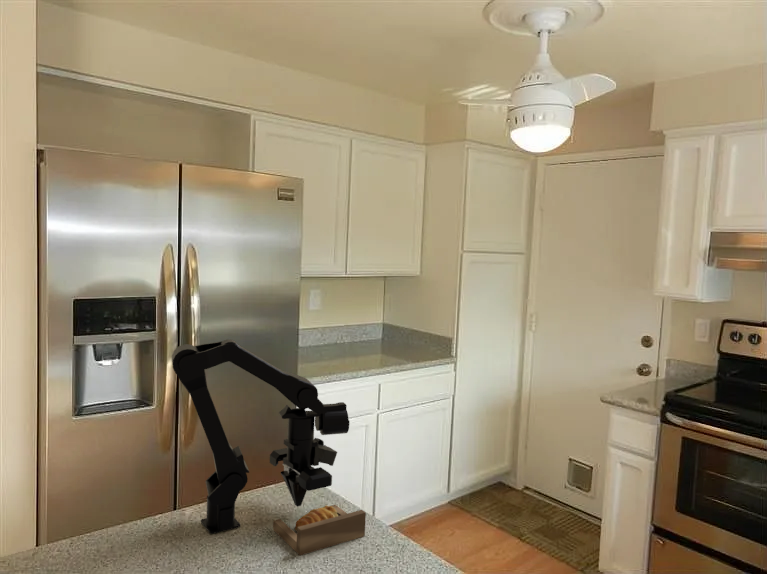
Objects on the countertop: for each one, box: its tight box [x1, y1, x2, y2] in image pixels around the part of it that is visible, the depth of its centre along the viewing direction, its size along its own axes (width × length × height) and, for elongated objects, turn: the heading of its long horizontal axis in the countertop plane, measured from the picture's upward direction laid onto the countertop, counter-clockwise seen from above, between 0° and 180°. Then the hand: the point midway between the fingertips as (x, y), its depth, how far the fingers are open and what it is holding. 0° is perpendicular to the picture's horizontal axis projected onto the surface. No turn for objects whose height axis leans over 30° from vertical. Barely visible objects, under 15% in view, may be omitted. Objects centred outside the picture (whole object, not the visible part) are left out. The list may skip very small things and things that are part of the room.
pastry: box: [294, 505, 338, 532], centre depth 124 cm, size 9×7×4 cm
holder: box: [272, 504, 367, 556], centre depth 121 cm, size 12×15×5 cm
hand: (298, 505), depth 129 cm, fingers closed
